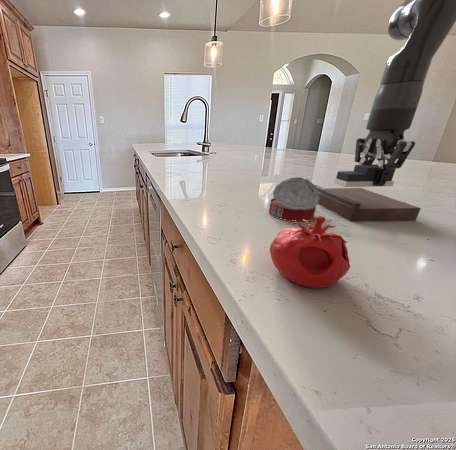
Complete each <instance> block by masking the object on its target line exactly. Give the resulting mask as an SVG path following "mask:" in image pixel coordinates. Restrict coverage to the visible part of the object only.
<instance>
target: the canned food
mask: <svg viewBox="0 0 456 450" xmlns="http://www.w3.org/2000/svg"><path fill="white" fill-rule="evenodd" d="M314 185H315V184H314V183H313V182H312V181H311V180H309V179H307V178H303V177H297V176H296V177H290V178H287V179H285V180H281V182H279V183H278V184H277V185H276V186H275V188H274V189H273V191H272V194H273V198H271V199H270V203H269V208H268V214H269V213H270V214H271V215H270V214H269V215H270V216H272V215H273V216H275V217H274V218H276V217H278V218H277V219H279V218H282V219H286V220H285V221H287V220H294V221H293V222H296V221H303V219H304V220H310V221H312V220H314V218H313V217H315V212H316V209H317V205H319V204H318V201H319V194H318V191H317V189H316V188H315V186H314ZM273 216H272V217H273ZM282 219H281V220H282ZM311 219H312V220H311ZM295 220H296V221H295Z"/></svg>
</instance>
